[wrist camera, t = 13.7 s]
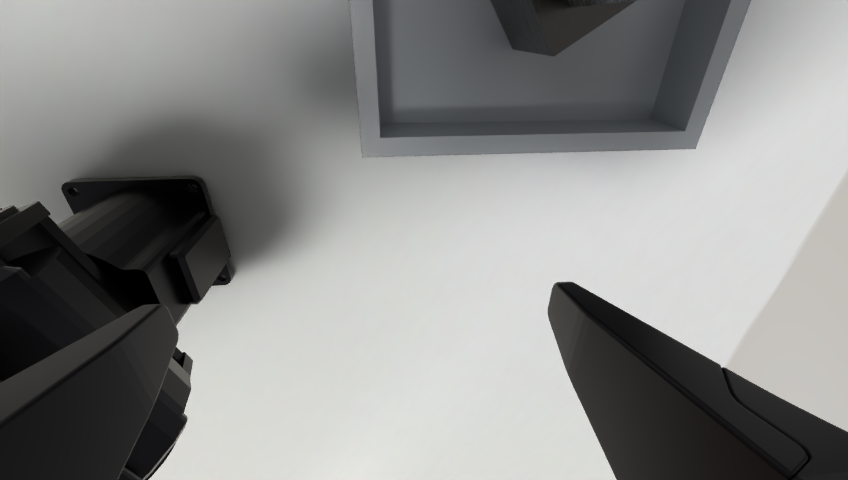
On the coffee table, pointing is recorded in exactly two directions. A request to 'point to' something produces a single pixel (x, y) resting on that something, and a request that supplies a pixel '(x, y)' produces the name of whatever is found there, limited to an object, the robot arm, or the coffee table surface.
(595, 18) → the strut
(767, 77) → the coffee table surface
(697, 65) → the bin
